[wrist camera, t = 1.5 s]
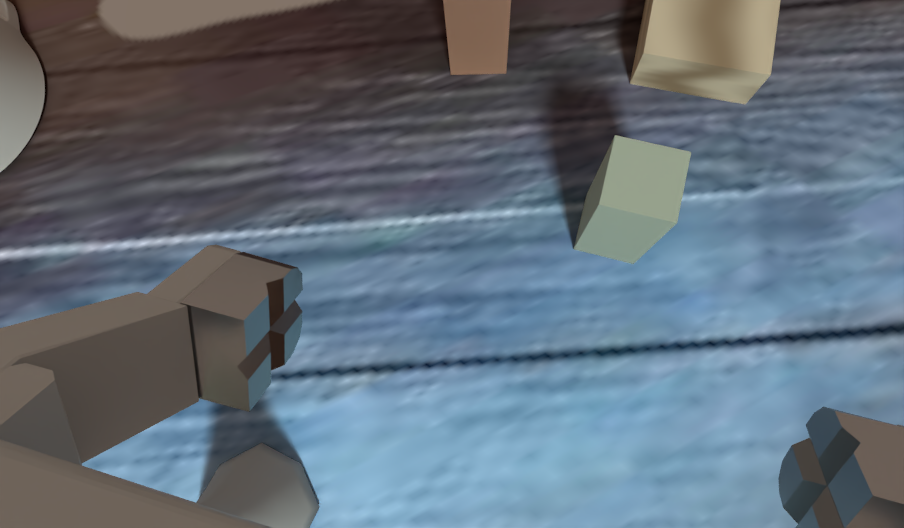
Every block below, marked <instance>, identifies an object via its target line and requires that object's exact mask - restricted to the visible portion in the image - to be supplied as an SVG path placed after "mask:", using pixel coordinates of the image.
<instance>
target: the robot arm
mask: <svg viewBox="0 0 904 528" xmlns="http://www.w3.org/2000/svg"><path fill="white" fill-rule="evenodd" d="M44 97H45V82H44V75H43V71H42V67H41V64H40V62H39V60H38V58H37V56H36V54H35V53H34V51H33V50H32V48H31V47H30V46H29V44H28V43H27V42H26V41H25V39H24V38H23V36H22V34H21V32H20V27H19V20H18V15H17V11H16V8H15V6H14V5H13V4H12V3H11V2H9V1H8V0H0V172H1V171H2V170H4V169H5V168H6V167H7V166H8V165H9V164H10V163H11V162H12V161H13V160H14V159H15V158H16V157H17V156H18V155H19V154H20V152H21V151H22V150H23V148H24V147H25V146H26V144H27V143H28V141H29V140H30V138H31V136H32V135H33V133H34V131H35V129H36V126H37V124H38V122H39V119H40V116H41V113H42V109H43V104H44ZM302 290H303V287H302V273H301V271H300V270H299V269H298V268H297V267H294V266H290V265H287V264H283V263H280V262H276V261H273V260H269V259H266V258H262V257H259V256H255V255H252V254H248V253H245V252H240V251H237V250H234V249H230V248H226V247H222V246H219V245H210V246H207V247H205V248H204V249H203V250H202V251H200V252H199V253H198V254H197V255H195V256H194V257H193V258H192V259H190V260H189V261H188V262H187V263H185V264H184V265H183V266H181V267H180V268H179V269H178V270H176V271H175V272H174V273H173V274H171V275H170V276H169V277H168V278H166V279H165V280H164V281H163V282H161V283H160V284H159V285H158V286H156V287H155V288H154V289H153V290H151V291H150V292H149V293H148V294H143V293H139V292H136V293H132V294H128V295H124V296H121V297H117V298H113V299H109V300H105V301H102V302H98V303H94V304H90V305H87V306H83V307H79V308H75V309H72V310H68V311H64V312H60V313H56V314H53V315H49V316H45V317H41V318H38V319H34V320H30V321H26V322H23V323H19V324H15V325H11V326H7V327H4V328H0V528H272V527H269V526H266V525H263V524H260V523H257V522H254V521H251V520H248V519H244V518H241V517H238V516H235V515H232V514H229V513H226V512H223V511H220V510H217V509H214V508H211V507H207V506H204V505H201V504H198V503H195V502H192V501H189V500H186V499H183V498H180V497H177V496H174V495H170V494H167V493H164V492H161V491H158V490H155V489H152V488H149V487H146V486H143V485H140V484H137V483H134V482H130V481H127V480H124V479H121V478H118V477H115V476H112V475H109V474H106V473H103V472H100V471H97V470H93V469H90V468H87V467H84V466H82V463H83V462H85V461H87V460H89V459H91V458H93V457H95V456H97V455H98V454H100V453H102V452H104V451H106V450H108V449H110V448H112V447H113V446H115V445H117V444H119V443H121V442H123V441H125V440H127V439H129V438H130V437H132V436H134V435H136V434H138V433H140V432H142V431H144V430H145V429H147V428H149V427H151V426H153V425H155V424H157V423H159V422H161V421H162V420H164V419H166V418H168V417H170V416H172V415H174V414H176V413H178V412H179V411H181V410H183V409H185V408H187V407H189V406H191V405H193V404H194V403H196V402H198V401H199V398H200V399H204V400H208V401H211V402H215V403H219V404H223V405H226V406H230V407H234V408H237V409H241V410H245V411H249V412H250V411H251V409H252V408H253V407H254V405H255V404H256V403H257V401H258V400H259V399H260V397H261V396H262V395H263V393H264V392H265V391H266V389H267V388H268V387H269V385H270V384H271V370H273V369H276V368H278V367H281V366H283V365H285V364H286V362H287V361H288V359H289V358H290V357H291V355H292V354H293V352H294V349H295V347H296V345H297V342H298V340H299V337H300V333H301V327H302V310H301V309H300V307H299V306H298V304H297V303H296V301H295V299H296V297H297V296H298V295H299V294H300V293H301V291H302ZM806 427H807V431H808V434H809V437H810V438H808V439H806V440H803V441H801V442H799V443H796V444H794V445H792V446H791V448H790V449H789V451H788V452H787V454H786V456H785V457H784V459H783V461H782V465H781V469H780V474H779V494H780V497H781V501H782V505H783V508H784V509H785V510H786V511H787V512H788V513H789V515H790V516H791V517H792V518H793V519H794V520H795V521H796V522H797V523H798V525H797V526H796V528H904V426H902V425H893V424H889V423H885V422H881V421H877V420H873V419H869V418H866V417H862V416H858V415H854V414H850V413H846V412H842V411H838V410H835V409H831V408H827V407H822V408H821V409H819V410H818V411H816V412H815V413H814V414H813V415H812V417H811V418H810V420H809V421H808V422H807V424H806Z"/></svg>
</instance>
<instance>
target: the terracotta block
mask: <svg viewBox="0 0 904 528" xmlns="http://www.w3.org/2000/svg"><path fill="white" fill-rule="evenodd" d="M443 3H444V13H445V23H446V32H447V42H448V52H449V61H450V71H451V75H465V74H506V69H507V53H508V38H509V23H510V7H511V0H443Z"/></svg>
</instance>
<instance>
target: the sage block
mask: <svg viewBox="0 0 904 528" xmlns="http://www.w3.org/2000/svg"><path fill="white" fill-rule="evenodd" d="M690 155H691V152H688V151H684V150H679V149H675V148H670V147H666V146H661V145H657V144H652V143H648V142H643V141H639V140H634V139H630V138H625V137H621V136H616V135H615V136H614V138H613V141H612V143H611V145H610V147H609V149H608V151H607V153H606V155H605V157H604V159H603V161H602V163H601V165H600V168H599V170H598V172H597V174H596V176H595V178H594V180H593V182H592V184H591V186H590V188H589V190H588V192H587V195H586V199H585V203H584V207H583V212H582V216H581V220H580V224H579V228H578V233H577V237H576V241H575V245H574V249H575V250H579V251H583V252H587V253H591V254H595V255H599V256H603V257H607V258H611V259H615V260H619V261H623V262H627V263H631V264H634V263H635V262H636V261H637V260H638V259H639V258H640V257H641V256H643V255H644V254H645V253H646V252H647V251H648V250H649V249H650V248H651V247H652V246H653V245H654V244H655V243H656V242H657V241H658V240H660V239H661V238H662V237H663V236H664V235H665V234H666V233H667V232H668V231H669V230H670V229H671V228H672V227H673V226H674V225H675V224H676V223H677V220H678V215H679V210H680V205H681V200H682V195H683V190H684V185H685V180H686V175H687V170H688V165H689V160H690Z"/></svg>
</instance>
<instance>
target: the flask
mask: <svg viewBox="0 0 904 528" xmlns="http://www.w3.org/2000/svg"><path fill="white" fill-rule="evenodd" d="M196 503H198V504H201V505H204V506H207V507H211V508H214V509H217V510H220V511H223V512H226V513H229V514H232V515H235V516H238V517H241V518H244V519H248V520H251V521H254V522H257V523H260V524H263V525H266V526H269V527H272V528H310V525H311V523H312V521H313V519H314V517H315V515H316V513H317V511H318V509H319V505H318V503H317V500H316V498H315V496H314V493H313V491H312V489H311V486H310V484H309V482H308V479H307V477H306V475H305V472H304V470H303V468H302V465H301V463H299V462H297V461H295V460H293V459H291V458H289V457H287V456H286V455H284V454H282V453H280V452H278V451H276V450H274V449H272V448H271V447H269V446H267V445H265V444H263V443H260V444H258V445H256V446H254V447H253V448H251V449H249V450H247V451H245V452H243V453H241V454H239V455H237V456H236V457H234V458H232V459H230V460H228V461H226V462H224V463H222V464H220V466H219V467H218V469H217V470H216V472H215V474H214V476H213V477H212V479H211V481H210V483H209V485H208V486H207V488H206V489H205V491H204V492H203V493H202V495H201V496H200V498H199V499H198V501H197V502H196Z"/></svg>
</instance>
